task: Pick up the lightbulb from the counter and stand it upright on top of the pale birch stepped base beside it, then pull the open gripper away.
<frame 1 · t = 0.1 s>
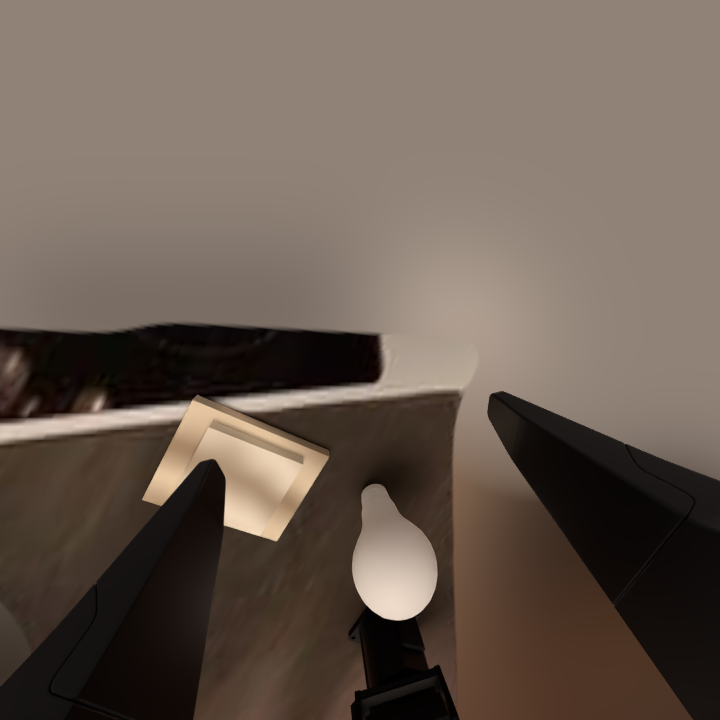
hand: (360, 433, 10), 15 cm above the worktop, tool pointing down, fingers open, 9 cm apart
base: (241, 470, 26), on the worktop
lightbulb: (371, 487, 29), on the worktop
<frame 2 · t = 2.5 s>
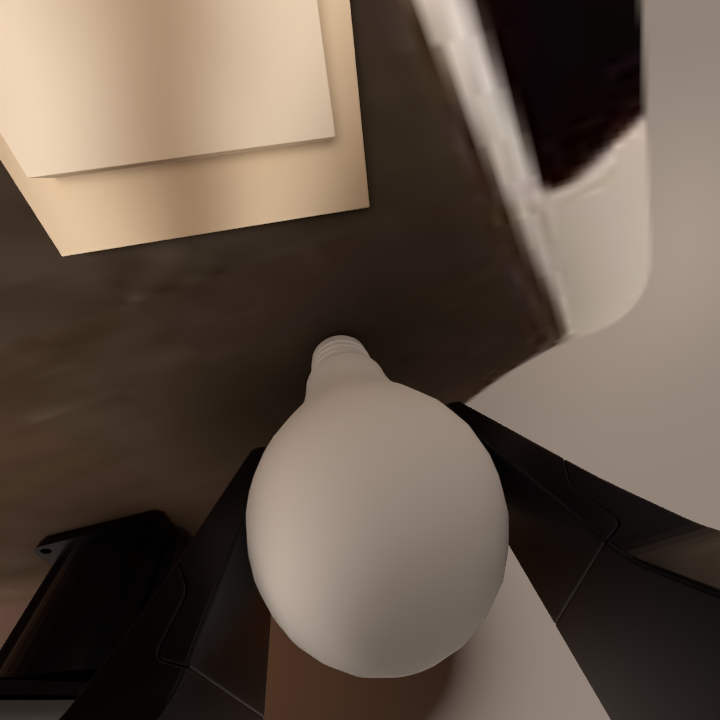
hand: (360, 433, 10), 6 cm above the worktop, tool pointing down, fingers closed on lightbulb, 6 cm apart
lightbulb: (337, 349, 14), on the worktop, touching gripper
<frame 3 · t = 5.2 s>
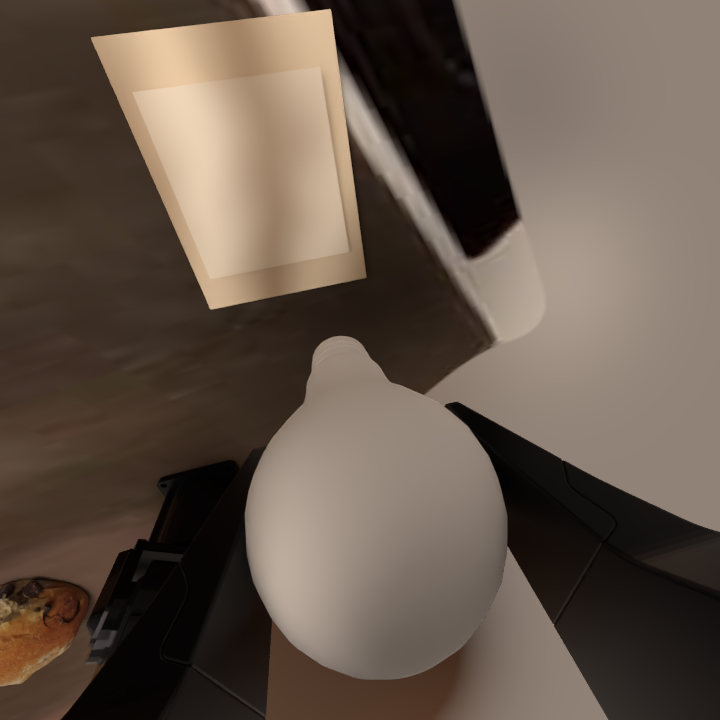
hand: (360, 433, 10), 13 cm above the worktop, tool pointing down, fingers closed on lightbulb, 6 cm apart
base: (261, 185, 17), on the worktop
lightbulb: (337, 349, 14), point 7 cm above the worktop, touching gripper
bread roll: (38, 598, 31), on the worktop
when the fingers open (9 cm above the worktop, at t = 7.7 s): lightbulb drops 1 cm, resting on base.
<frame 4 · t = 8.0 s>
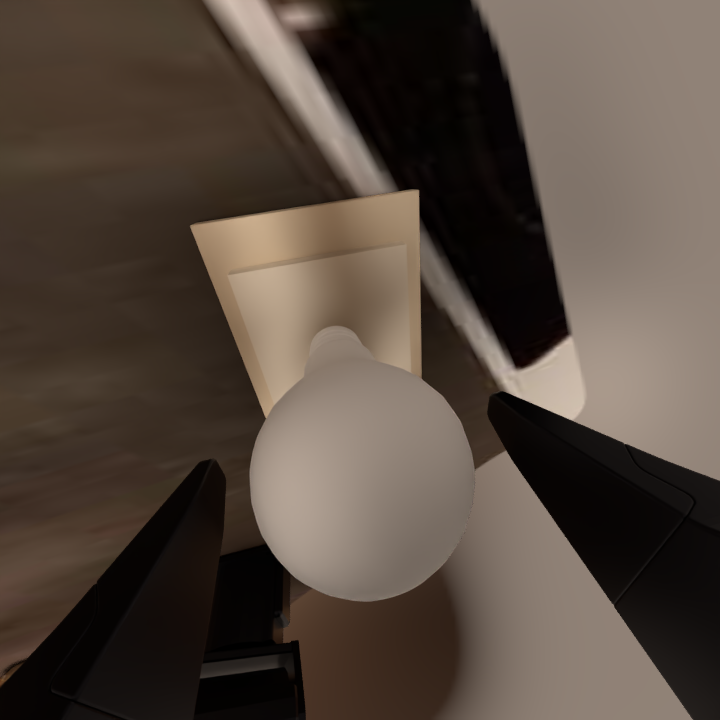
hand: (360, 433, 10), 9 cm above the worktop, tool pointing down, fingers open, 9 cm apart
base: (330, 322, 17), on the worktop
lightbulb: (333, 339, 16), point 2 cm above the worktop, touching base
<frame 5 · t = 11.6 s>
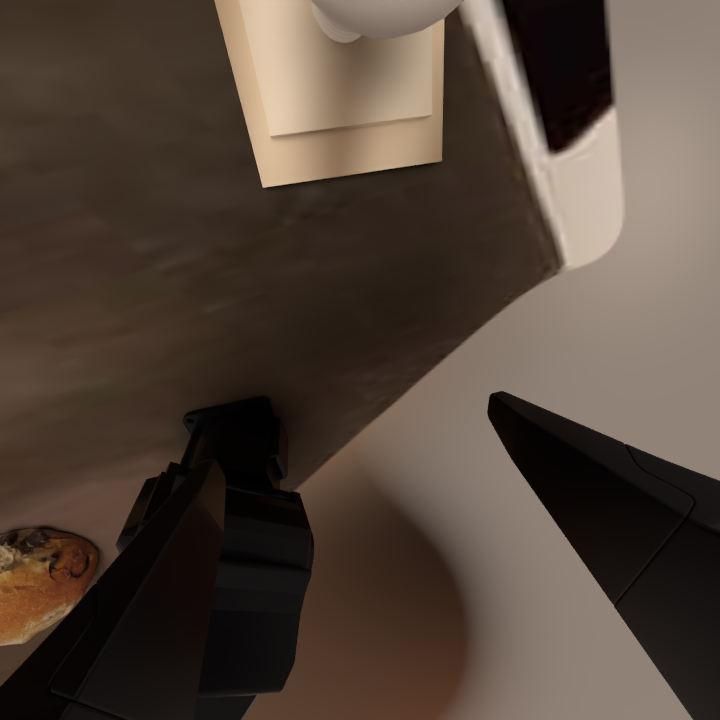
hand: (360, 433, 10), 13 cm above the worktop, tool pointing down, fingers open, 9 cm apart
base: (334, 24, 14), on the worktop
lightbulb: (338, 10, 13), point 2 cm above the worktop, touching base
bread roll: (42, 553, 28), on the worktop
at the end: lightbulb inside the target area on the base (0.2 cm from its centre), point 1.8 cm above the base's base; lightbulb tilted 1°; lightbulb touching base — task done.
